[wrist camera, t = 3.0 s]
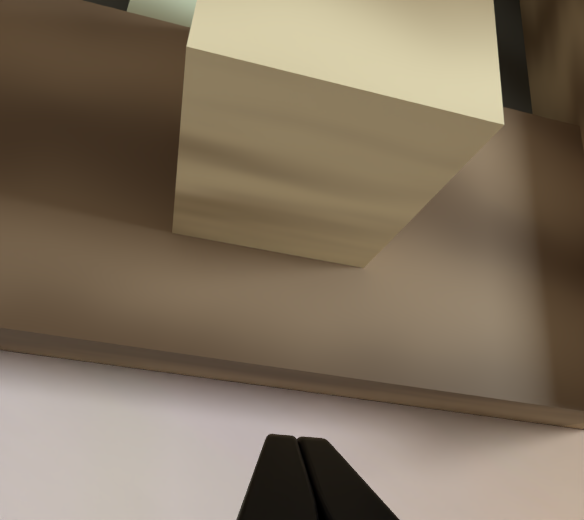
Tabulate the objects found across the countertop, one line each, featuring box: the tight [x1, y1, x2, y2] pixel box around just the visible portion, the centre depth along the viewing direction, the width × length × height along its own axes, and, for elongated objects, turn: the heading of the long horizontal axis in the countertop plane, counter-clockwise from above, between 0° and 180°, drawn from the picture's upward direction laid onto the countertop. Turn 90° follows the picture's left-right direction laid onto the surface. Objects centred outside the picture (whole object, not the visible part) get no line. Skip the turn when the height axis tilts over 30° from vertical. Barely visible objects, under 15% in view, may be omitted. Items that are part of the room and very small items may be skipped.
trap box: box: [0, 0, 584, 429], centre depth 20 cm, size 24×26×6 cm
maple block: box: [172, 0, 504, 268], centre depth 15 cm, size 8×6×8 cm
